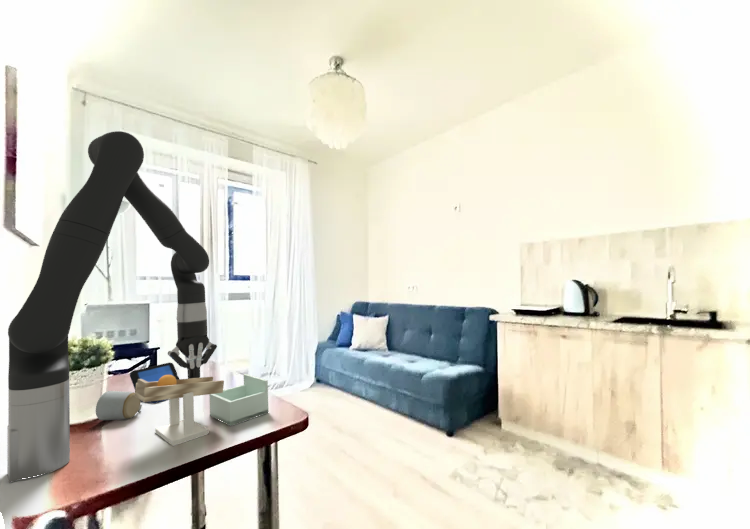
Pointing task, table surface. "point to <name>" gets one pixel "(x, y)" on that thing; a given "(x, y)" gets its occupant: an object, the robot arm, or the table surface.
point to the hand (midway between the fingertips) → (194, 381)
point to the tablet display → (153, 374)
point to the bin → (241, 401)
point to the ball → (167, 380)
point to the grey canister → (117, 405)
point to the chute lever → (177, 388)
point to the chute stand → (181, 422)
